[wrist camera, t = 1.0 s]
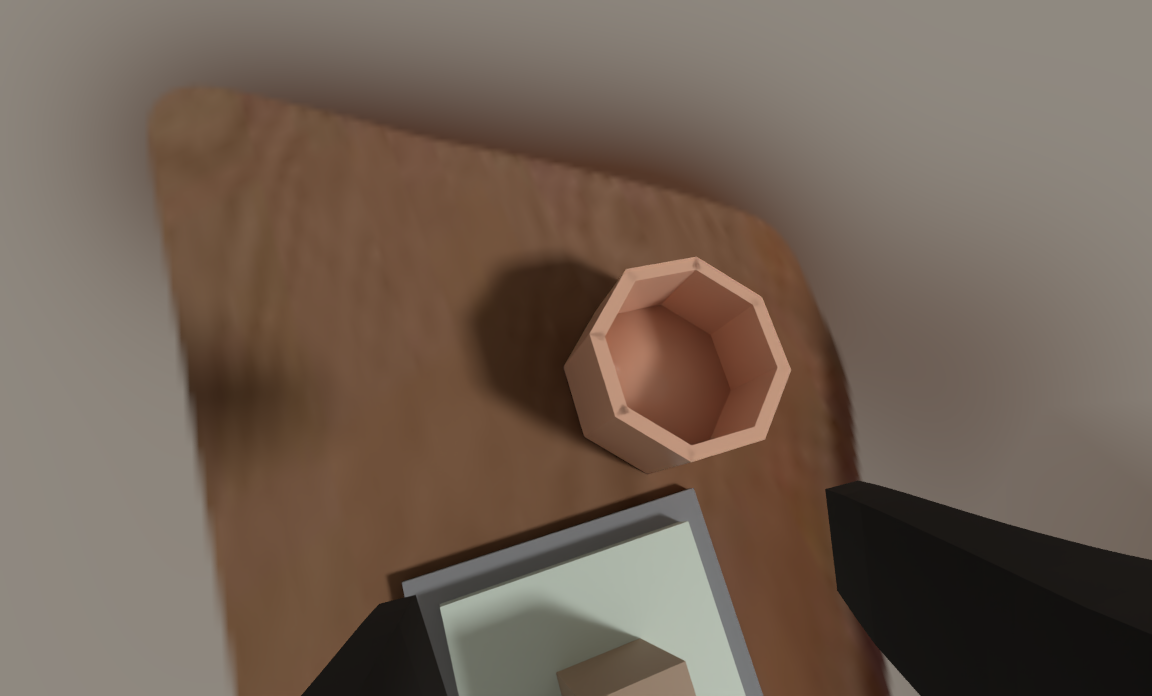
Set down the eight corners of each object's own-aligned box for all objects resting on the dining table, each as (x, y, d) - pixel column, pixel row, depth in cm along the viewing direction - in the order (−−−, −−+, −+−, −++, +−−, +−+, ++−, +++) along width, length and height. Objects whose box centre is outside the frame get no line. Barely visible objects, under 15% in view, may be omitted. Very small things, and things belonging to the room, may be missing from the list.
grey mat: (792, 801, 19) (801, 808, 19) (482, 976, 16) (483, 989, 15) (688, 489, 22) (693, 487, 21) (402, 581, 19) (402, 582, 18)
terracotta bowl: (752, 441, 23) (812, 424, 20) (599, 488, 21) (634, 479, 17) (696, 290, 25) (742, 248, 21) (549, 319, 23) (572, 278, 19)
